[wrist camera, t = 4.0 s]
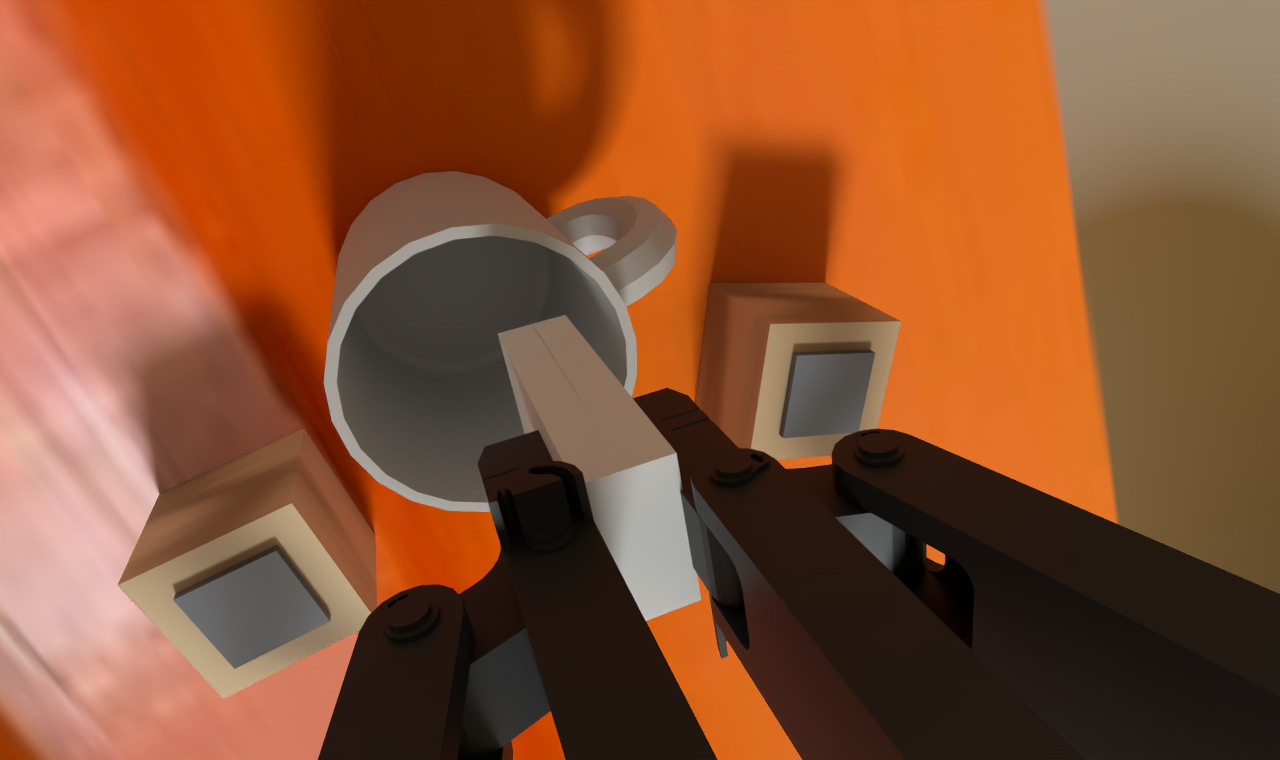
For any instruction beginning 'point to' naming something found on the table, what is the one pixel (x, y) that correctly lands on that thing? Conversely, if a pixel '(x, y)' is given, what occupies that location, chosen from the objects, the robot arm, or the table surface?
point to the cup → (471, 318)
